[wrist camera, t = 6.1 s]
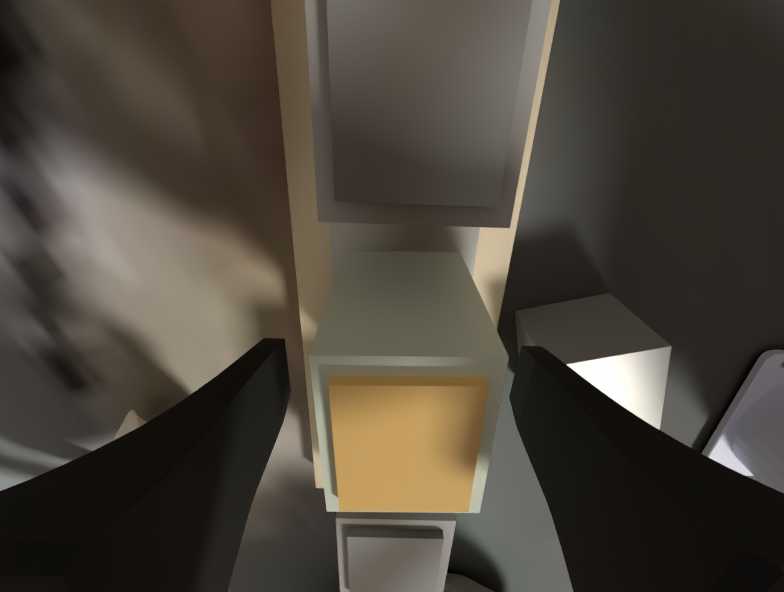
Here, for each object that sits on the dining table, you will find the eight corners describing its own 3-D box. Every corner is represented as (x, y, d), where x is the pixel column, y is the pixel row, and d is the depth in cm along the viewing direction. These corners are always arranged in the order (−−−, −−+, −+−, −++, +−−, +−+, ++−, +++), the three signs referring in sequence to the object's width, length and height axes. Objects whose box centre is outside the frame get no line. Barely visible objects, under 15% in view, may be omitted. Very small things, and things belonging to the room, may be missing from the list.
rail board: (552, -35, 11) (755, -216, 5) (462, 471, 21) (490, 621, 15) (277, -47, 11) (126, -245, 5) (319, 468, 21) (289, 617, 15)
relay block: (608, 292, 16) (671, 346, 12) (605, 365, 18) (659, 431, 14) (514, 309, 16) (548, 367, 13) (520, 379, 18) (551, 447, 14)
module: (460, 252, 13) (513, 366, 7) (448, 368, 15) (482, 524, 9) (344, 250, 13) (305, 364, 7) (350, 367, 15) (324, 523, 9)
